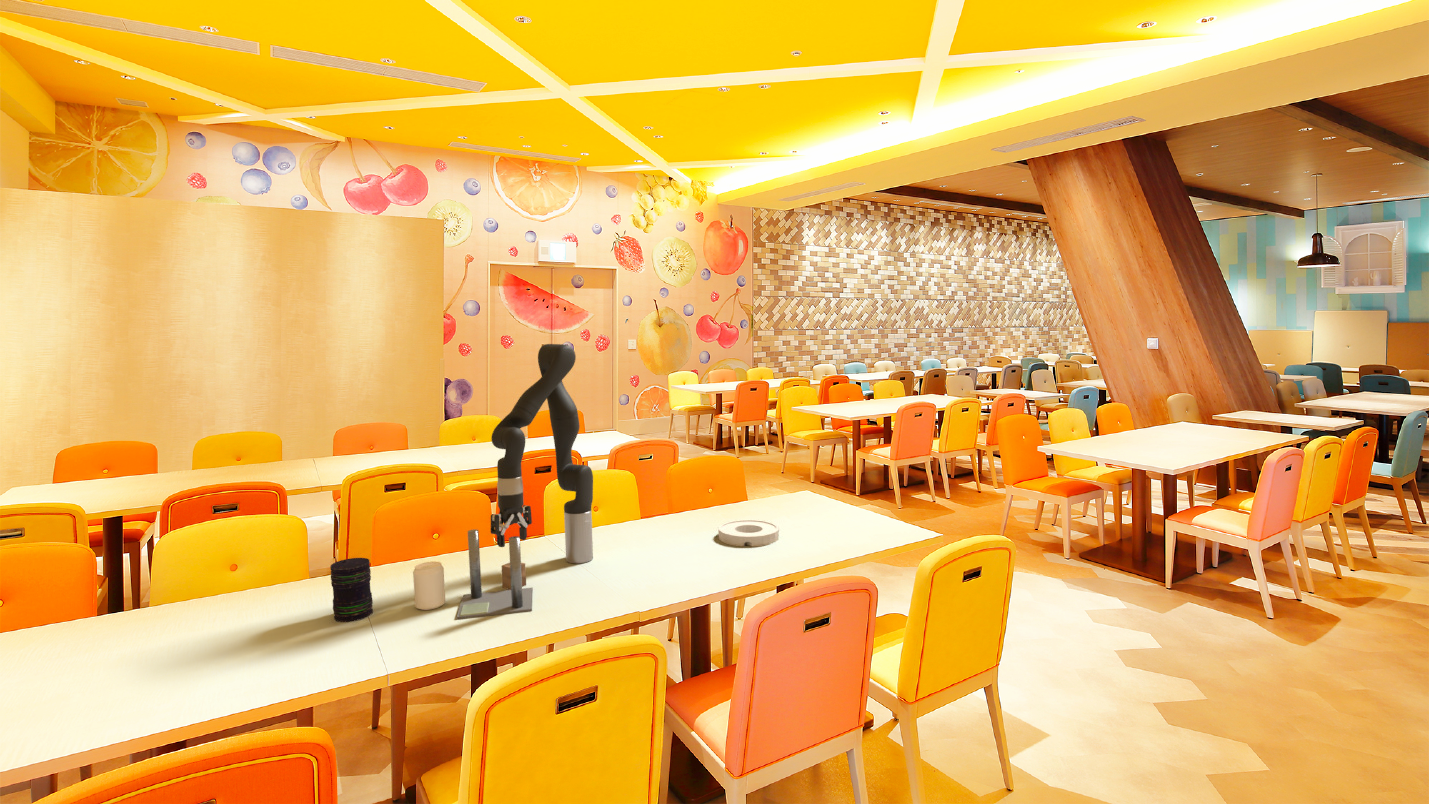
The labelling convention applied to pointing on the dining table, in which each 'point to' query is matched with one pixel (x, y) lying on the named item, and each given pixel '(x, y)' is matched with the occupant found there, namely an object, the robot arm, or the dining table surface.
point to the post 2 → (515, 572)
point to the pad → (476, 607)
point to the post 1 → (474, 564)
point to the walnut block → (507, 578)
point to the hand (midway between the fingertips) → (512, 543)
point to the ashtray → (748, 532)
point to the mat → (495, 603)
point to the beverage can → (429, 585)
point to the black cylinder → (351, 589)
